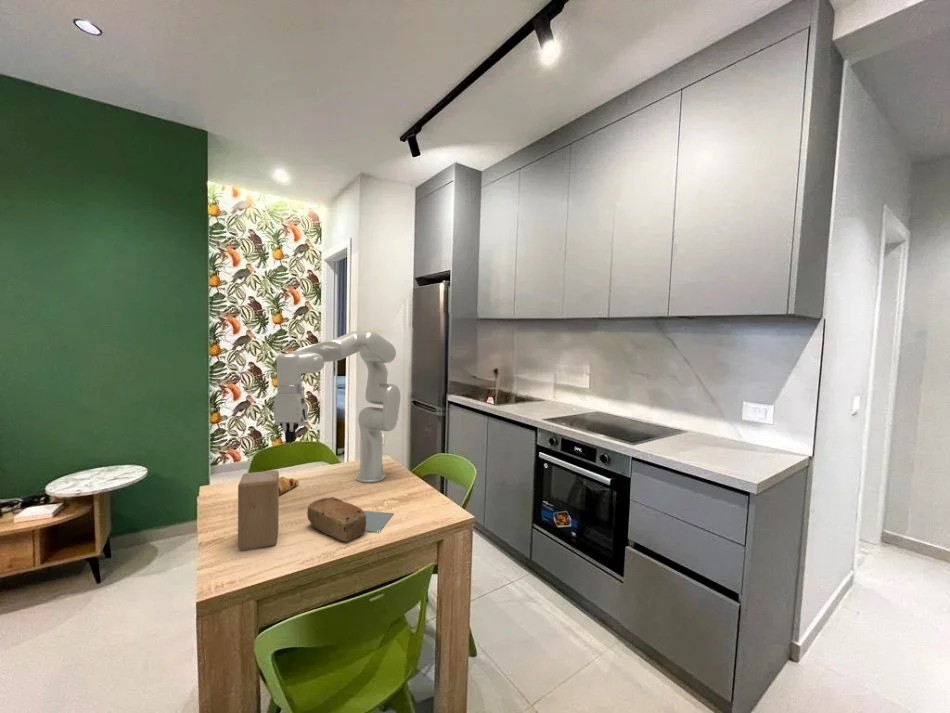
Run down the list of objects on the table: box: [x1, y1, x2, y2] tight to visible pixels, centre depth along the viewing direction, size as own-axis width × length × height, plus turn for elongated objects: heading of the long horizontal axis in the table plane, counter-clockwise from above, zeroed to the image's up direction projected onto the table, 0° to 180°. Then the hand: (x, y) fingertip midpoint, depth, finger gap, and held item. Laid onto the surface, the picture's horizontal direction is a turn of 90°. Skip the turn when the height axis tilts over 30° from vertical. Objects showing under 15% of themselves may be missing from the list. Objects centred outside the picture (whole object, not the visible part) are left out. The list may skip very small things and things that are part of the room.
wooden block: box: [237, 469, 280, 552], centre depth 118 cm, size 10×10×20 cm
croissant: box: [279, 476, 300, 495], centre depth 156 cm, size 21×10×8 cm, turn 146°
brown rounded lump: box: [306, 496, 366, 542], centre depth 127 cm, size 11×8×20 cm
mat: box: [363, 510, 394, 533], centre depth 134 cm, size 14×20×1 cm
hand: (290, 441), depth 136 cm, fingers closed
